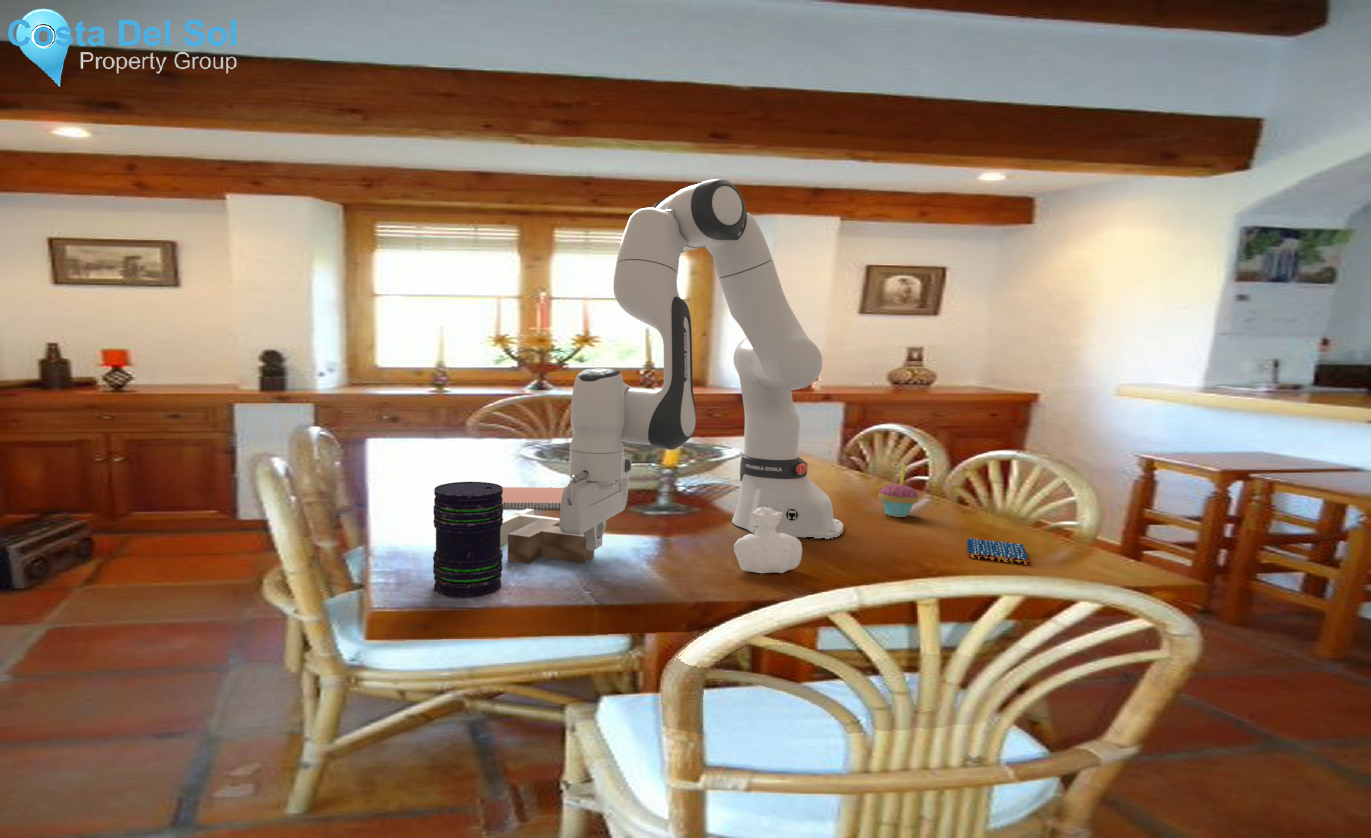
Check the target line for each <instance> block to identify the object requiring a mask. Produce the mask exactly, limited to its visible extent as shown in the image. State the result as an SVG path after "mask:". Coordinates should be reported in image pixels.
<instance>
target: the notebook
mask: <svg viewBox="0 0 1371 838" xmlns="http://www.w3.org/2000/svg"><path fill="white" fill-rule="evenodd" d="M502 487H503V493H502V498H503V502H502V504H503V509H505V510H507V509H508V510H511V509H512V510H514V509H516V510H518V509H519V510H521V509H522V510H525V509H534V510H535V509H536V510H538V509H539V510H545V509H546V510H549V509H550V510H555V509H556V510H557V509H558V510H559V509H560V508H561V499H562V493H563V490H564V488H565V487H532V486H531V487H523V486H522V487H517V486H513V487H512V486H509V487H508V486H502Z"/></svg>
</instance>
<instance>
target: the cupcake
mask: <svg viewBox="0 0 1371 838" xmlns="http://www.w3.org/2000/svg"><path fill="white" fill-rule="evenodd" d="M905 471H906V460H905V461H903V464H902V466H901V474H900V481H899V483H889V484H887V485H885V486H883V487H882V488H881V489H879V492H878V498H879V500H880V501H881V503H882V504H883V508H884V511H885V515H886V514H888V515H894V516H907V515H908V516H909V514H910V511H911V510H912V508H913V506H914V504H917V503H918V501H919V492H917V491H916V489H915V488H913V487H912V486H909V485H907V484H904V481H905V480H904V479H905V473H906V472H905Z"/></svg>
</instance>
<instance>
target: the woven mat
mask: <svg viewBox="0 0 1371 838" xmlns="http://www.w3.org/2000/svg"><path fill="white" fill-rule="evenodd" d="M967 544H968V545H967ZM967 547H968V548H967ZM967 549H968V551H967V554H968V553H970V554H971V556H975V555H974V554H979V555H977V556H981V557H994V558H999V556H1000V557H1004V560H1009V559H1008V558H1010V560H1011V558H1012V557H1013V559H1012V560H1023V561H1028V559H1029V556H1028V553H1027V550H1026V547H1024V544H1023V543H1020V544H1019V543H1016V542H1013V543H1012V542H1009V543H1008V542H1006V541H1005V542H1002V541H999V540H997V541H994V540H991V539H989V540H986V539H985V540H983V539H982V538H981V539H978V538H971V539H970V538H969V539H968V538H967V539H966V550H967ZM1026 553H1027V554H1026ZM986 554H987V555H990V556H987V555H986ZM995 556H997V557H995ZM1028 562H1029V563H1030V560H1029V561H1028Z"/></svg>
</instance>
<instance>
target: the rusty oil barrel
mask: <svg viewBox="0 0 1371 838" xmlns="http://www.w3.org/2000/svg"><path fill="white" fill-rule="evenodd" d="M503 487H504V486H501V485H500V484H497V483H493V482H486V481H457V482H449V483H444V484H440V485H437V486H435V487H434V488H433V493H434V496H435V497H434V503H433V504H434V505H433V526H434V528H435V550H434V552H433V557H432V559H433V564H432V565H433V567H432V568H433V569H432V572H433V580H434V584H433V591H434V592H435V593H436V592H437V593H438V594H437V593H436V594H437V595H439V596H441V595H443V596H442V597H445V596H446V597H445V598H450V599H475V598H476V599H477V598H482V597H486V595H487V596H490V595H493V594H495V593H497V592H499V591H500V590H501V588H502V581H501V579H502V574H503V573H502V571H503V556H504V555H503V549H502V548H501V546H500V533H501V526H502V523H503V518H504V517H503V514H504V508H503V504H502V502H503V498H502V493H503Z"/></svg>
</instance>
